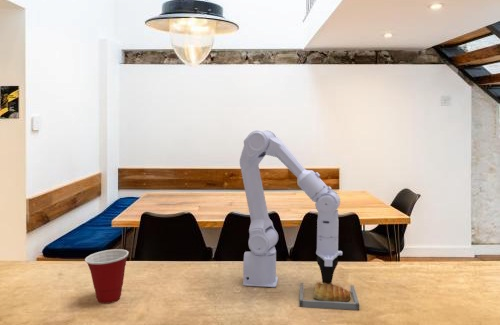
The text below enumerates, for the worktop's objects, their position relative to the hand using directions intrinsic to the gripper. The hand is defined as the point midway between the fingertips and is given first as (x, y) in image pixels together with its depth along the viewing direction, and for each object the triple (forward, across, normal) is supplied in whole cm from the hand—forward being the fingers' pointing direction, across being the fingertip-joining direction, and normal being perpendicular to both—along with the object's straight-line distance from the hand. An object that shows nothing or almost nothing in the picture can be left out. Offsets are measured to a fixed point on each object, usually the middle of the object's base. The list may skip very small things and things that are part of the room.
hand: (326, 284), depth 115 cm
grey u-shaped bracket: (+2, -5, 0) cm, 5 cm away
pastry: (+2, -4, 0) cm, 5 cm away
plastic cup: (+2, -14, +57) cm, 59 cm away
